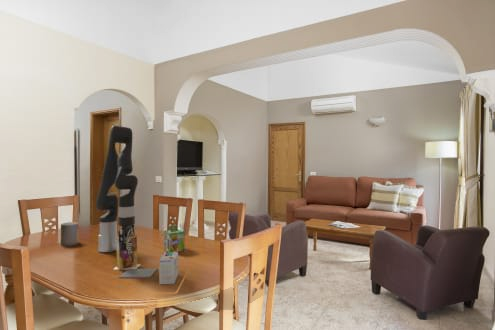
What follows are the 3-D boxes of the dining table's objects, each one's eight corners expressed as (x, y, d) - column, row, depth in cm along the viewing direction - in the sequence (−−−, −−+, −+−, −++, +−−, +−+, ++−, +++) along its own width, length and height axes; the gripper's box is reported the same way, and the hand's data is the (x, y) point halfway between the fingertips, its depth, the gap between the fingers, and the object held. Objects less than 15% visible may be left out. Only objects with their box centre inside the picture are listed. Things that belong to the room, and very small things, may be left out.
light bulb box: (163, 275, 139) (163, 251, 139) (178, 274, 139) (178, 251, 139) (158, 284, 128) (158, 259, 128) (174, 283, 129) (174, 258, 129)
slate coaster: (119, 277, 136) (119, 276, 136) (127, 270, 146) (127, 268, 146) (150, 277, 136) (150, 276, 136) (156, 269, 146) (156, 268, 146)
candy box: (134, 263, 154) (134, 233, 154) (137, 265, 151) (137, 235, 151) (116, 267, 148) (116, 236, 148) (119, 270, 145) (119, 238, 145)
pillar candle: (57, 246, 189) (56, 222, 189) (71, 242, 198) (71, 219, 198) (68, 247, 185) (67, 223, 185) (82, 243, 194) (81, 220, 194)
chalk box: (170, 254, 171) (170, 228, 171) (163, 250, 178) (163, 225, 178) (185, 251, 177) (185, 225, 177) (178, 247, 184) (177, 223, 184)
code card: (112, 269, 146) (112, 269, 146) (118, 264, 153) (118, 264, 153) (135, 269, 146) (135, 269, 146) (140, 264, 153) (140, 264, 153)
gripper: (124, 213, 157) (125, 244, 157) (112, 218, 142) (113, 252, 142) (139, 212, 157) (139, 244, 157) (128, 217, 142) (128, 252, 143)
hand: (126, 248), depth 150 cm, fingers closed on candy box, 7 cm apart
